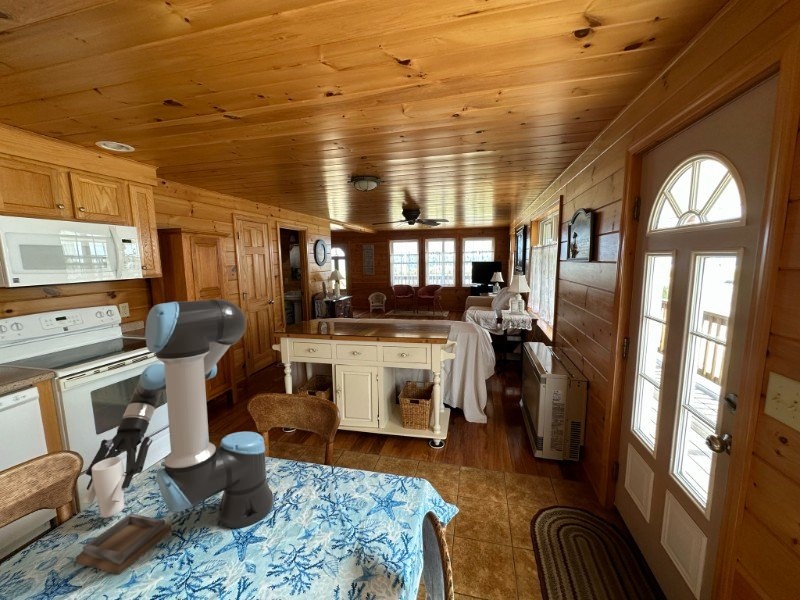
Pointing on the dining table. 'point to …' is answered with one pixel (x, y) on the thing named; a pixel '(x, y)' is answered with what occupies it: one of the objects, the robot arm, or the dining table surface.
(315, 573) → the dining table surface
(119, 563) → the collar board
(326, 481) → the dining table surface
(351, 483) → the dining table surface
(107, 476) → the white cup
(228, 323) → the robot arm
